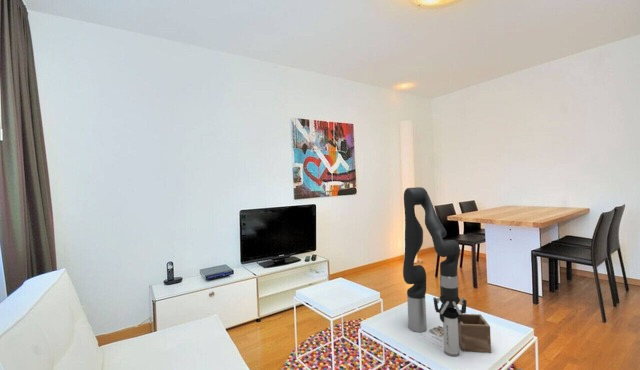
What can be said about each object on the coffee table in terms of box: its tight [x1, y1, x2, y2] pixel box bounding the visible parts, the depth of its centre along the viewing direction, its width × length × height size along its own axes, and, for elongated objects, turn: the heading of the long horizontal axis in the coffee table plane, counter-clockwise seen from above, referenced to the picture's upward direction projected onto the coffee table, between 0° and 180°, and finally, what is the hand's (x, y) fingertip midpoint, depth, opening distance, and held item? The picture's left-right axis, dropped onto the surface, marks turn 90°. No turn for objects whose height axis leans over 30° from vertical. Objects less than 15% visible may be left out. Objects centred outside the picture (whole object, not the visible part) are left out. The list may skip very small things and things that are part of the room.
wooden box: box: [458, 313, 492, 354], centre depth 138 cm, size 12×12×12 cm
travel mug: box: [442, 307, 460, 357], centre depth 133 cm, size 6×7×20 cm
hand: (450, 321), depth 133 cm, fingers closed on travel mug, 6 cm apart
